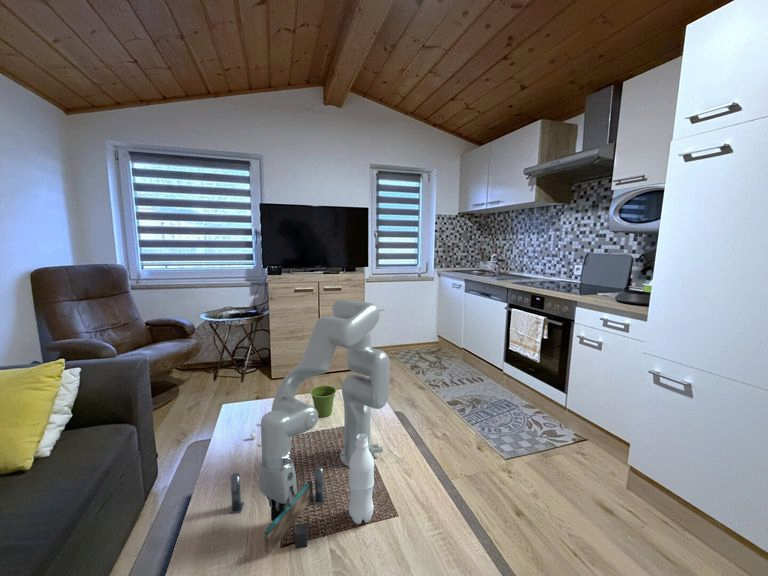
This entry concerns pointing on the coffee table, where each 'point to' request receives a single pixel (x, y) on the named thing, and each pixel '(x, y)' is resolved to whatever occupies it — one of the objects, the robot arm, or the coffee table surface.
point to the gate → (287, 517)
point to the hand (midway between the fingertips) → (277, 518)
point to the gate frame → (301, 529)
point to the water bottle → (361, 481)
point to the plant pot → (323, 399)
